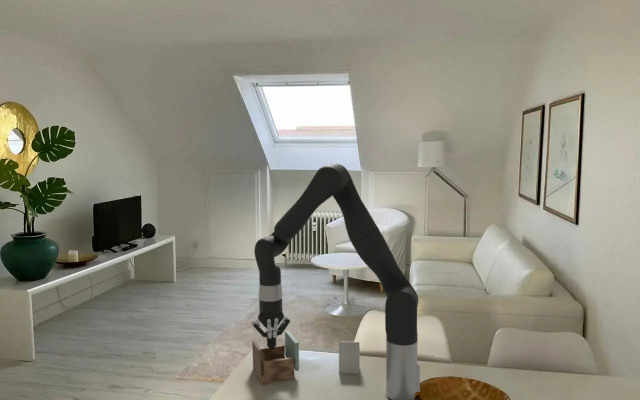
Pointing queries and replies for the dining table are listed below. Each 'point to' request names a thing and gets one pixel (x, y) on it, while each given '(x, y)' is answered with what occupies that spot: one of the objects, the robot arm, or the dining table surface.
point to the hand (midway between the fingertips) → (271, 347)
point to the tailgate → (292, 348)
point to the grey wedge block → (349, 357)
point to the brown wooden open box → (272, 364)
